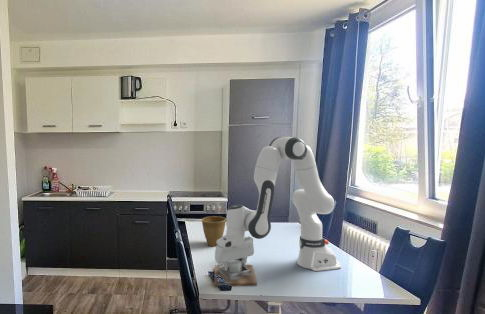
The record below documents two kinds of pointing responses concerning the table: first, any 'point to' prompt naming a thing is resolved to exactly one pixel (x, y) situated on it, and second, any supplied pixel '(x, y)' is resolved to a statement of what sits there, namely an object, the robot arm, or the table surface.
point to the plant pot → (213, 229)
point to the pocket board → (240, 281)
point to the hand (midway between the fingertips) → (234, 267)
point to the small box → (235, 266)
